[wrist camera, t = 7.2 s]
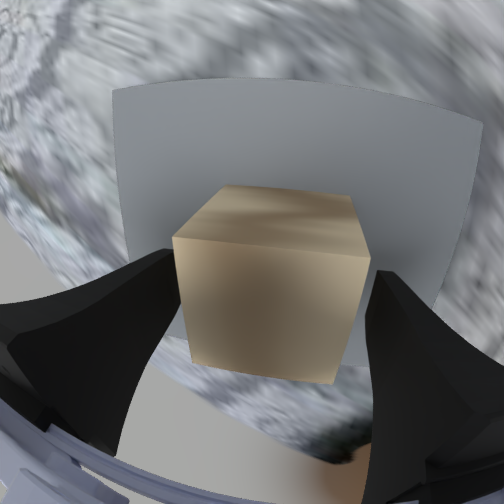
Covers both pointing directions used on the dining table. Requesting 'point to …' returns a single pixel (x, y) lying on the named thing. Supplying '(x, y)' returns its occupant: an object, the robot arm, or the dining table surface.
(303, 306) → the maple block
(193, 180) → the slate board
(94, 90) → the dining table surface
